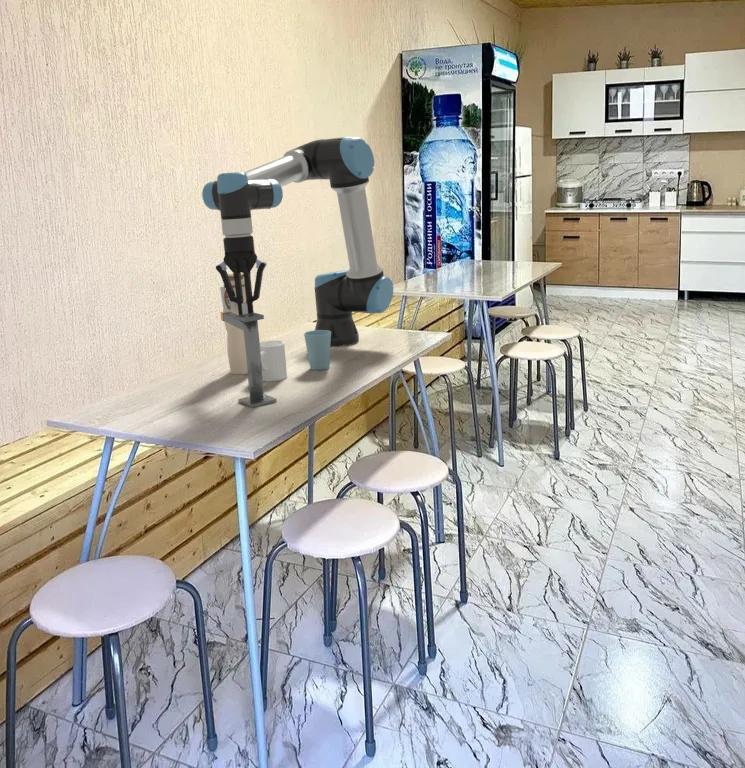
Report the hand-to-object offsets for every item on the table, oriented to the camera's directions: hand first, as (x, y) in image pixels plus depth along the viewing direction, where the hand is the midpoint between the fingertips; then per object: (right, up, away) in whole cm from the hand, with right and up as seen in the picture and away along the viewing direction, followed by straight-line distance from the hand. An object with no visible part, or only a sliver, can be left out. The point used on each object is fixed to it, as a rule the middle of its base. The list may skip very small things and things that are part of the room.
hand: (247, 327), depth 204 cm
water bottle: (-5, -11, +24) cm, 27 cm away
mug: (+4, -14, +13) cm, 20 cm away
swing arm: (-3, +1, -2) cm, 3 cm away
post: (+4, -19, -7) cm, 21 cm away
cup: (+17, -10, +24) cm, 31 cm away
